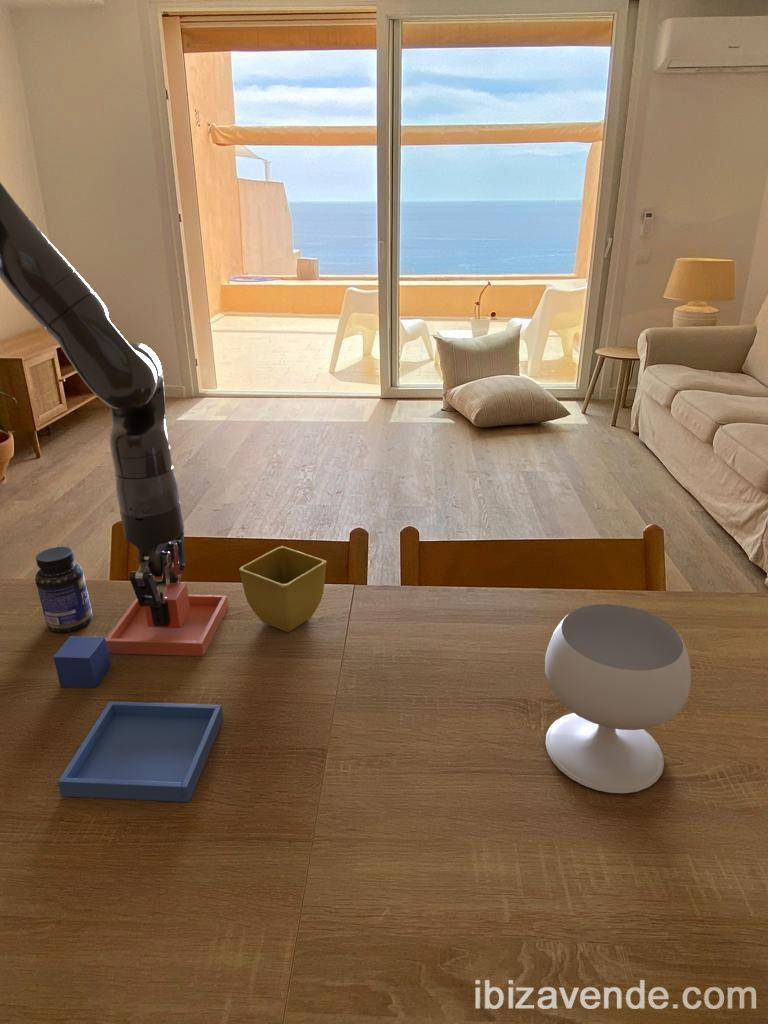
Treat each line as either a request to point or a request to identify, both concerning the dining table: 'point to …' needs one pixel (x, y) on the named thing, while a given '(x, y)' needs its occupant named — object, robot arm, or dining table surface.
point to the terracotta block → (173, 605)
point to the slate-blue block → (82, 662)
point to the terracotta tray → (169, 630)
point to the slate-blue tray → (143, 752)
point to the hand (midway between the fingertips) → (168, 614)
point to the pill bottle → (62, 590)
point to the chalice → (614, 694)
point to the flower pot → (284, 586)
